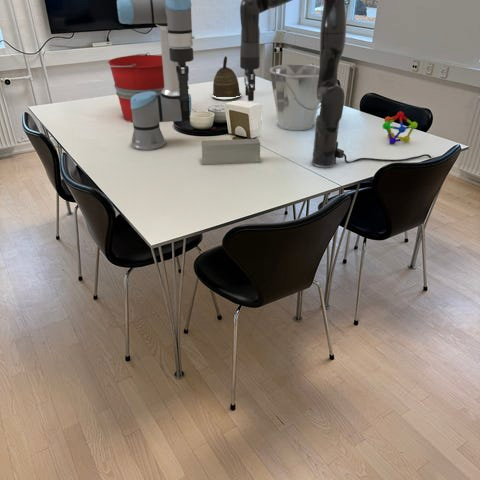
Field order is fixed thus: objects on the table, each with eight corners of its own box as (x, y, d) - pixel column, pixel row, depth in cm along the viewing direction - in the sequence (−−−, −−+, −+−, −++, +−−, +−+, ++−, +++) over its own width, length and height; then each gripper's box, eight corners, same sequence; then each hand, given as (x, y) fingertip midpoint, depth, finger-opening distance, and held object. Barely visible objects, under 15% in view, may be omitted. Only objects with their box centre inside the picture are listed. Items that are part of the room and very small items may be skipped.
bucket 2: (296, 138, 215) (301, 78, 201) (255, 124, 234) (256, 68, 219) (335, 125, 232) (342, 70, 217) (294, 113, 251) (297, 61, 236)
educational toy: (377, 146, 209) (379, 114, 202) (384, 138, 219) (386, 107, 211) (411, 149, 202) (415, 116, 195) (417, 141, 212) (420, 109, 204)
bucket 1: (122, 106, 262) (115, 52, 246) (181, 107, 261) (178, 52, 245) (105, 124, 232) (96, 64, 216) (172, 125, 231) (167, 64, 216)
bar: (202, 164, 187) (201, 145, 182) (202, 159, 192) (201, 140, 187) (259, 162, 189) (260, 143, 185) (257, 157, 194) (258, 138, 189)
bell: (227, 105, 294) (202, 96, 282) (238, 66, 289) (213, 55, 277) (243, 108, 280) (217, 98, 268) (255, 66, 275) (229, 55, 263)
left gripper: (195, 53, 130) (198, 125, 141) (191, 41, 150) (194, 104, 162) (169, 54, 129) (174, 126, 140) (168, 41, 150) (173, 105, 161)
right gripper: (262, 58, 163) (261, 102, 172) (257, 51, 175) (256, 93, 184) (242, 58, 162) (242, 103, 171) (238, 51, 174) (238, 93, 183)
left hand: (185, 114), depth 151 cm, fingers open, 13 cm apart
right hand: (249, 98), depth 177 cm, fingers open, 8 cm apart
